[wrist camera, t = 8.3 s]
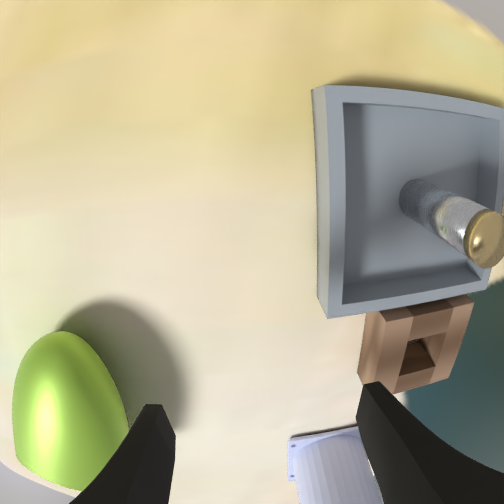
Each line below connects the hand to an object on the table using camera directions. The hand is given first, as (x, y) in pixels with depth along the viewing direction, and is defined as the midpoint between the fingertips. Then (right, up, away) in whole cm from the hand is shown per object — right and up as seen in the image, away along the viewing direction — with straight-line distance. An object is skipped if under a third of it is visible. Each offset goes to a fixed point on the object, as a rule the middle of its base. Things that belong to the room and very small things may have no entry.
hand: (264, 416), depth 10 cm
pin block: (+11, 0, +11) cm, 15 cm away
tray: (+9, +9, +7) cm, 15 cm away
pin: (+9, +9, +6) cm, 14 cm away
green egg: (-16, -7, +13) cm, 21 cm away
